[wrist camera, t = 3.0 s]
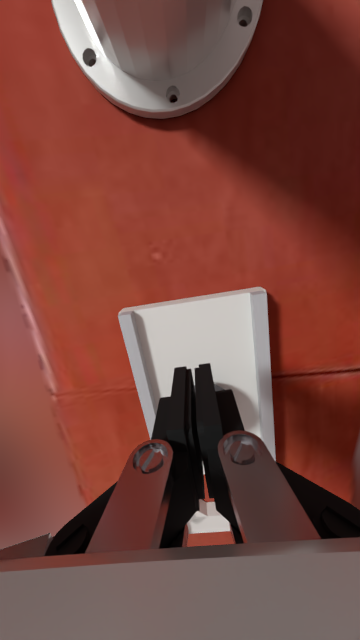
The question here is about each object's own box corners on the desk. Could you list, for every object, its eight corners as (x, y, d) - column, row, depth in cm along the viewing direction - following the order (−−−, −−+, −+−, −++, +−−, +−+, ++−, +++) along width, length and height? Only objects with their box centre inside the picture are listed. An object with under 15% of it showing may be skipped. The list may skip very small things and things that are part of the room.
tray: (123, 308, 20) (114, 316, 18) (260, 286, 19) (270, 292, 17) (177, 520, 29) (176, 544, 26) (274, 513, 28) (282, 538, 25)
